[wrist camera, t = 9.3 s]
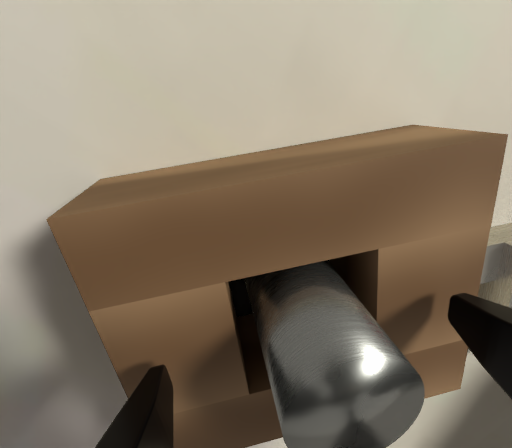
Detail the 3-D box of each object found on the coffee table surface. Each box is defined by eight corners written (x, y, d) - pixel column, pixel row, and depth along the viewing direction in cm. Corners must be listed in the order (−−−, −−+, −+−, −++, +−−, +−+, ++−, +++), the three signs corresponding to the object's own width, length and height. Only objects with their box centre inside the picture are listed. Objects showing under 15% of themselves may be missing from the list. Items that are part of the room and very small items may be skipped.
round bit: (319, 287, 14) (419, 442, 8) (248, 303, 14) (290, 480, 7) (314, 221, 13) (430, 340, 6) (236, 237, 12) (273, 381, 6)
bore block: (400, 322, 16) (460, 388, 12) (171, 378, 14) (161, 470, 11) (412, 124, 12) (507, 134, 8) (100, 179, 11) (46, 219, 7)
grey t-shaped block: (519, 320, 18) (565, 351, 16) (427, 344, 17) (460, 380, 15) (548, 211, 15) (608, 230, 13) (440, 235, 14) (483, 259, 12)
